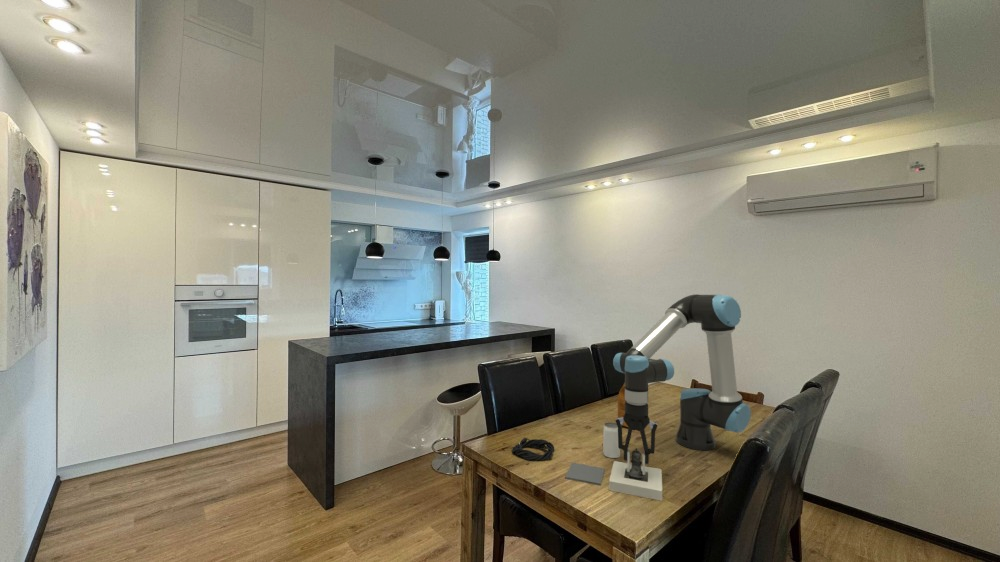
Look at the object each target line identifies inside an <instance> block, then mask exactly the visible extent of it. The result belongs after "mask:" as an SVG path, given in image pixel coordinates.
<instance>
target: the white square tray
mask: <svg viewBox="0 0 1000 562" xmlns="http://www.w3.org/2000/svg"><path fill="white" fill-rule="evenodd" d="M631 467H632V463H630V469H631ZM641 471H643V465H641ZM662 473H663V472H662V468H657V467H651V466H647V465H645V477H644V480H643V481H639V480H634V479H630V478H629V476H628V473H627V462H622V461H617V460H613V464H612V467H611V471H610V476H609V480H608V482H609V483H608V484H609V485H608V490H609V491H612V492H616V493H619V494H620V493H622V494H626V495H631V496H635V497H641V498H647V499H651V500H654V501H655V500H656V501H661V502H663V478H662V477H663V476H662Z"/></svg>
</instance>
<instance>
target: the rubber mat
mask: <svg viewBox="0 0 1000 562" xmlns="http://www.w3.org/2000/svg"><path fill="white" fill-rule="evenodd" d="M605 469H606V468H605V467H599V466H594V465H589V464H588V465H587V464H583V463H577V462H571V464H570V466H569V467H568V469H567V472H566V473H565V477H564V479H567V480H570V481H576V482H581V483H586V484H590V485H597V486H602V481H603V478H604V475H605V472H606V470H605Z"/></svg>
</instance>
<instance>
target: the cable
mask: <svg viewBox="0 0 1000 562" xmlns="http://www.w3.org/2000/svg"><path fill="white" fill-rule="evenodd" d="M529 446H530V447H529ZM525 447H529V448H532V449H536V450H539V449H540V450H546V452H544V453H543V454H538V453H536V452H533V451H531V450H529V449H523V448H525ZM511 450H512V451H511V452H512V453H513V454H516V455H517V456H520V457H522V459H525V460H531V461H549V460H550V459H551V458H552V457H553V453H554V452H555V446H554V444H553V443H552V442H550V441H548V440H546V439H541V438H540V439H538V438H537V439H536V438H535V439H529V438H527V437H524V438H523V439H521V441H520V442H519V441H518V443H517V444H516V445H514V446H512V448H511Z"/></svg>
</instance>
